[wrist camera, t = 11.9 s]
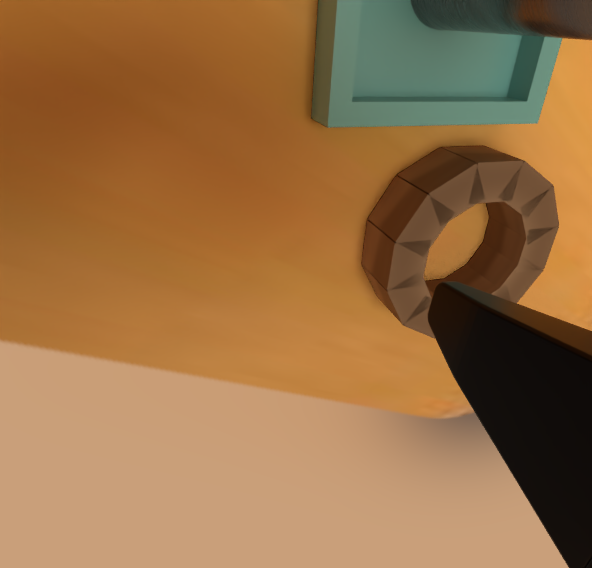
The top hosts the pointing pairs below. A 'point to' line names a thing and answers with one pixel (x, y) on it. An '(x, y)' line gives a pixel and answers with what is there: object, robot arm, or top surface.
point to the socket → (444, 207)
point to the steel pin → (509, 17)
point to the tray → (422, 70)
